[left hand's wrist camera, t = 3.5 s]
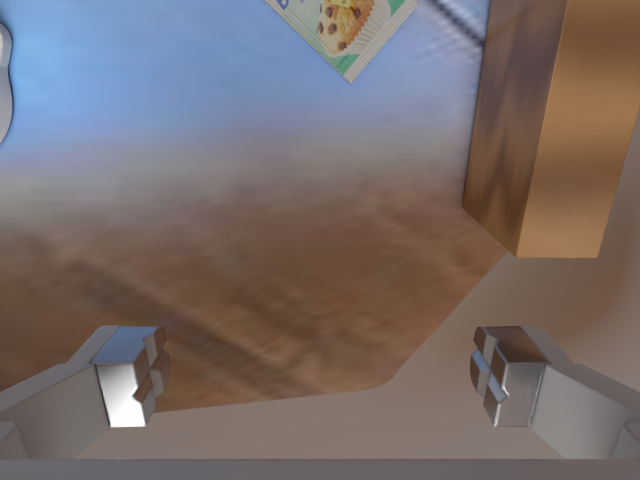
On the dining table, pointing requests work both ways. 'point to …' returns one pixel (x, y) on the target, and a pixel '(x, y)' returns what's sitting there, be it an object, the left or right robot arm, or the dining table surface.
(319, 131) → the dining table surface
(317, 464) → the left robot arm
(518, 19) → the box
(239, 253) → the dining table surface
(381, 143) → the dining table surface
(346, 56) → the baking ingredient package
